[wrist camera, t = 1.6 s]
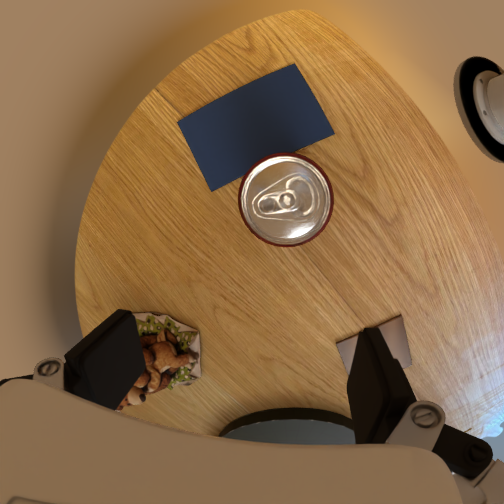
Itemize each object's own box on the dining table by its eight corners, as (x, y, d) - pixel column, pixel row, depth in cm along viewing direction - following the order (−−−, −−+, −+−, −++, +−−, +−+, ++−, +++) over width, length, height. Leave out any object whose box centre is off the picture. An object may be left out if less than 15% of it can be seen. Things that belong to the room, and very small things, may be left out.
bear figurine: (212, 385, 40) (190, 442, 29) (134, 374, 43) (101, 418, 31) (198, 313, 37) (163, 366, 25) (113, 308, 39) (66, 346, 28)
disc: (259, 384, 39) (257, 397, 36) (395, 429, 39) (398, 440, 36) (197, 455, 48) (194, 465, 45) (309, 488, 48) (309, 497, 45)
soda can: (313, 157, 30) (326, 145, 18) (323, 219, 31) (340, 242, 20) (251, 166, 31) (228, 160, 19) (261, 227, 33) (245, 255, 21)
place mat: (294, 64, 27) (294, 63, 26) (334, 134, 29) (334, 133, 28) (178, 122, 31) (177, 122, 30) (212, 191, 32) (211, 191, 32)
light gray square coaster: (401, 314, 33) (401, 315, 33) (411, 363, 35) (412, 365, 34) (335, 342, 35) (335, 344, 35) (353, 387, 37) (353, 389, 37)
